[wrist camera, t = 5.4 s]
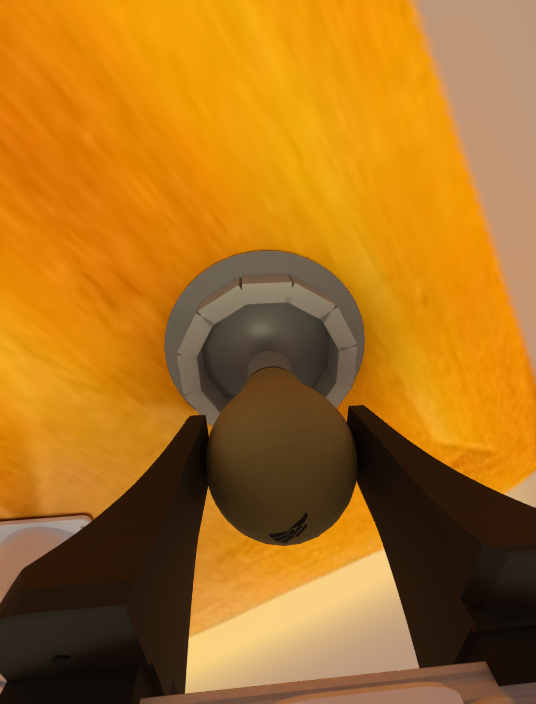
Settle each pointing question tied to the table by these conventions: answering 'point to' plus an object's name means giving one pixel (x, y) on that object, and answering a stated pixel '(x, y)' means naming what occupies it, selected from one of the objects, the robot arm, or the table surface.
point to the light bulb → (280, 457)
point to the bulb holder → (262, 328)
